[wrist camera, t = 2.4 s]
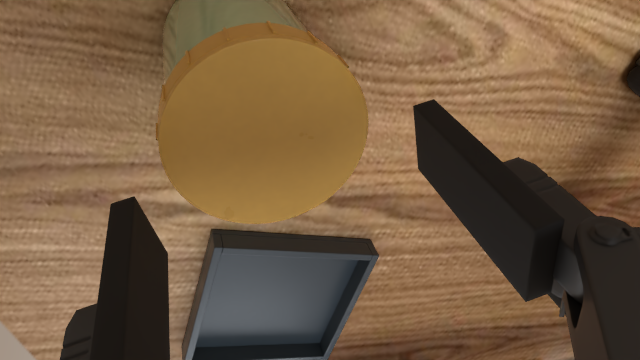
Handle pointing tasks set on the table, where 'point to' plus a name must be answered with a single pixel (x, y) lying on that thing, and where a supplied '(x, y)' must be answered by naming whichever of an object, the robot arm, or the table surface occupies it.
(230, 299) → the dish
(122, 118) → the table surface
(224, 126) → the lid
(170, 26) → the jar
